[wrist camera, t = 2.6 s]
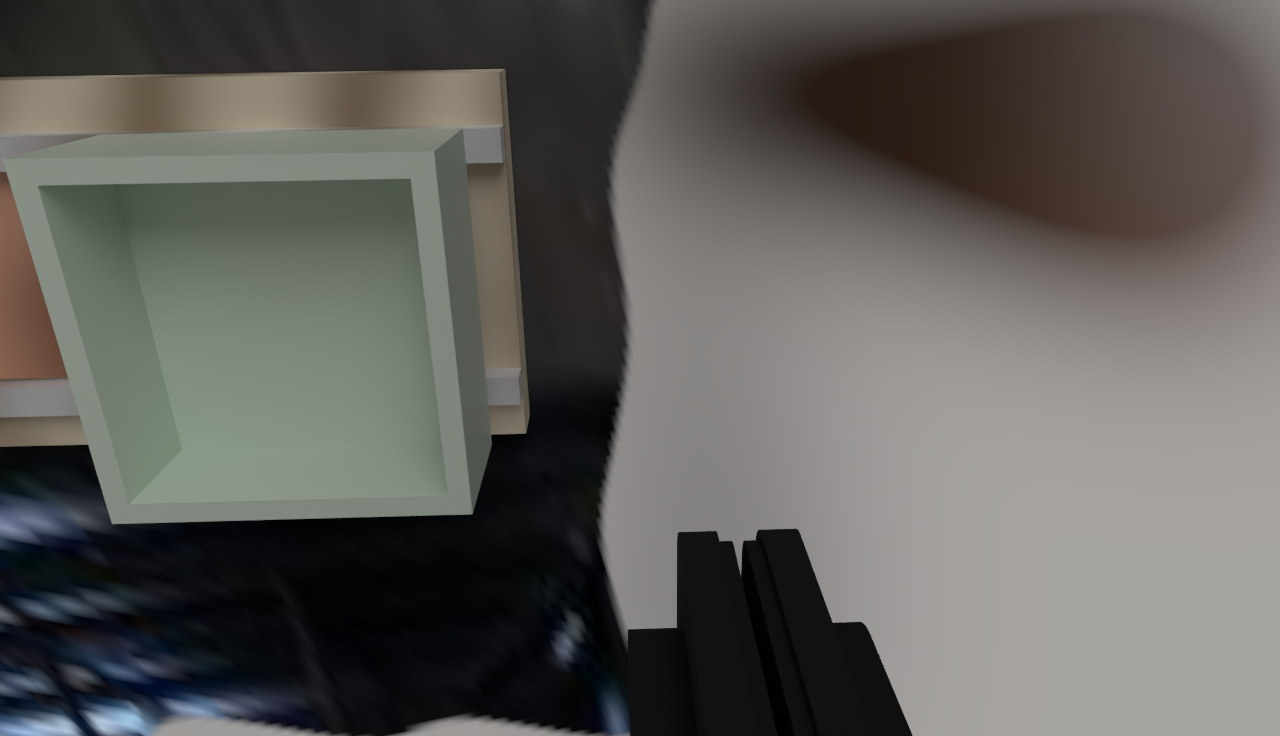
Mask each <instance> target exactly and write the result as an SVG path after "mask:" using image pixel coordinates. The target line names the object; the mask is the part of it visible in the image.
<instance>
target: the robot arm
mask: <svg viewBox="0 0 1280 736" xmlns="http://www.w3.org/2000/svg"><path fill="white" fill-rule="evenodd" d="M628 662H629V702H630V736H912V733H911V731H910V729H909V726H908V724H907V721H906V719H905V717H904V714H903V712H902V710H901V707H900V705H899V702H898V700H897V697H896V695H895V693H894V690H893V688H892V686H891V683H890V681H889V678H888V676H887V674H886V671H885V669H884V666H883V664H882V662H881V659H880V657H879V654H878V653H877V650H876V647H875V645H874V642H873V640H872V638H871V635H870V633H869V631H868V629H867V627H866V626H865V625H864V624H863V623H862V622H846V623H832V620H831V617H830V615H829V612H828V610H827V607H826V604H825V601H824V598H823V596H822V593H821V590H820V588H819V585H818V582H817V579H816V576H815V573H814V571H813V568H812V565H811V562H810V560H809V557H808V554H807V552H806V549H805V546H804V543H803V541H802V538H801V535H800V533H799V531H798V530H797V529H773V530H758V532H757V535H756V540H752V541H744V542H743V548H742V571H741V575H740V571H739V567H738V563H737V558H736V554H735V549H734V545H733V542H732V541H719V538H718V534H717V532H716V531H706V532H679V533H678V538H677V628H663V629H662V628H661V629H631V630H628Z"/></svg>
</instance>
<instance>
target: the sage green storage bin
mask: <svg viewBox="0 0 1280 736" xmlns="http://www.w3.org/2000/svg"><path fill="white" fill-rule="evenodd" d="M3 162H4V166H5V169H6V172H7V176H8V179H9V182H10V186H11V189H12V192H13V196H14V199H15V202H16V206H17V209H18V212H19V216H20V219H21V222H22V226H23V229H24V232H25V236H26V239H27V242H28V246H29V249H30V252H31V256H32V259H33V262H34V266H35V269H36V272H37V276H38V279H39V282H40V286H41V289H42V292H43V296H44V299H45V302H46V306H47V309H48V312H49V316H50V319H51V322H52V326H53V329H54V332H55V336H56V339H57V342H58V346H59V349H60V352H61V356H62V359H63V362H64V366H65V369H66V372H67V376H68V379H69V382H70V386H71V389H72V392H73V396H74V399H75V402H76V406H77V409H78V412H79V416H80V419H81V422H82V426H83V429H84V432H85V436H86V439H87V442H88V445H89V449H90V452H91V455H92V459H93V462H94V465H95V469H96V472H97V475H98V479H99V482H100V485H101V489H102V492H103V495H104V499H105V502H106V505H107V509H108V512H109V515H110V519H111V522H112V524H130V523H167V522H204V521H241V520H278V519H315V518H352V517H389V516H426V515H463V514H473V510H474V507H475V503H476V500H477V496H478V492H479V489H480V485H481V482H482V478H483V474H484V471H485V467H486V464H487V460H488V456H489V453H490V449H491V446H492V440H491V429H490V418H489V407H488V396H487V386H486V375H485V364H484V353H483V342H482V331H481V320H480V309H479V298H478V287H477V277H476V266H475V255H474V244H473V233H472V222H471V211H470V200H469V189H468V178H467V167H466V157H465V146H464V135H463V128H436V129H379V130H322V131H265V132H208V133H151V134H101V135H97V136H93V137H89V138H85V139H81V140H77V141H73V142H69V143H65V144H61V145H57V146H53V147H49V148H45V149H41V150H37V151H33V152H29V153H25V154H21V155H17V156H13V157H9V158H5V159H3Z"/></svg>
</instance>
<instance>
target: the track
mask: <svg viewBox="0 0 1280 736" xmlns="http://www.w3.org/2000/svg"><path fill="white" fill-rule="evenodd" d="M436 128H463V135H464V146H465V157H466V167H467V178H468V189H469V200H470V211H471V222H472V233H473V244H474V255H475V266H476V277H477V287H478V298H479V309H480V320H481V331H482V342H483V353H484V364H485V375H486V386H487V396H488V407H489V418H490V429H491V434H526V431H527V426H528V421H529V416H530V411H529V397H528V383H527V369H526V355H525V341H524V327H523V313H522V298H521V284H520V270H519V256H518V242H517V228H516V214H515V200H514V186H513V172H512V158H511V144H510V130H509V116H508V101H507V87H506V73H505V69H474V70H412V71H350V72H288V73H226V74H164V75H103V76H41V77H0V447H10V446H50V445H88V442H87V439H86V436H85V432H84V429H83V426H82V422H81V419H80V416H79V412H78V409H77V406H76V402H75V399H74V396H73V392H72V389H71V386H70V382H69V379H68V376H67V372H66V369H65V366H64V362H63V359H62V356H61V352H60V349H59V346H58V342H57V339H56V336H55V332H54V329H53V326H52V322H51V319H50V316H49V312H48V309H47V306H46V302H45V299H44V296H43V292H42V289H41V286H40V282H39V279H38V276H37V272H36V269H35V266H34V262H33V259H32V256H31V252H30V249H29V246H28V242H27V239H26V236H25V232H24V229H23V226H22V222H21V219H20V216H19V212H18V209H17V206H16V202H15V199H14V196H13V192H12V189H11V186H10V182H9V179H8V176H7V172H6V169H5V166H4V162H3V159H5V158H9V157H13V156H17V155H21V154H25V153H29V152H33V151H37V150H41V149H45V148H49V147H53V146H57V145H61V144H65V143H69V142H73V141H77V140H81V139H85V138H89V137H93V136H97V135H101V134H151V133H208V132H265V131H322V130H379V129H436Z"/></svg>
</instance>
